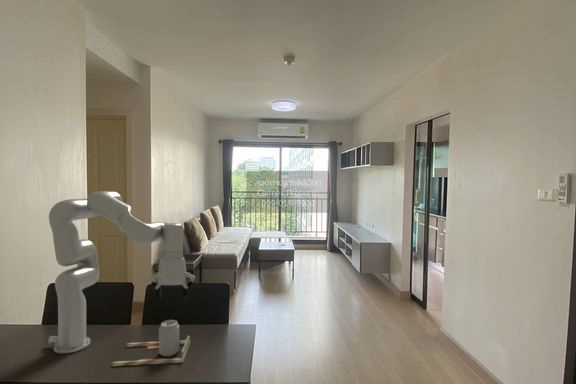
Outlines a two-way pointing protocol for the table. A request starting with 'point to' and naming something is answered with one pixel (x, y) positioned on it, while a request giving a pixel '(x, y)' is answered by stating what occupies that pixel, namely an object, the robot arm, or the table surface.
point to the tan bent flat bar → (154, 361)
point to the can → (168, 338)
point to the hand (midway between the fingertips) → (172, 298)
